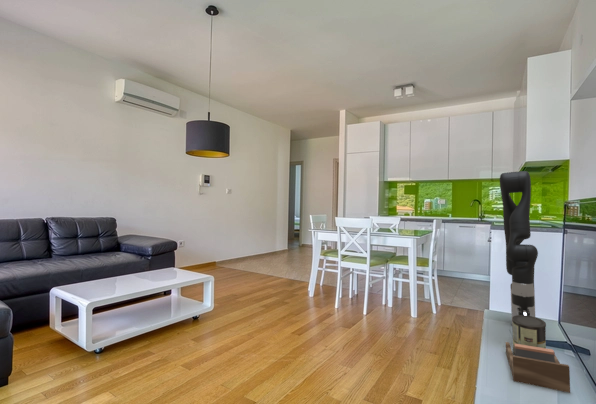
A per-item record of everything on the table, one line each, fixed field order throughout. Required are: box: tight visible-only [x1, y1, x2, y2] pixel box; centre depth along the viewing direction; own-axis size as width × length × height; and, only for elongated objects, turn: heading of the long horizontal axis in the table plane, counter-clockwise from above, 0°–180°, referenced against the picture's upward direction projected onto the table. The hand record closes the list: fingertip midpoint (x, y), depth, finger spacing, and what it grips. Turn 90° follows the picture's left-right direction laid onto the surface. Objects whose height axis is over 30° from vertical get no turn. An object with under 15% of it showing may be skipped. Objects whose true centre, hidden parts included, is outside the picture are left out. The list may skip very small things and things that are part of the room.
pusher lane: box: [505, 341, 571, 393], centre depth 109 cm, size 23×14×8 cm, turn 152°
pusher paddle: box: [514, 343, 556, 363], centre depth 108 cm, size 2×11×8 cm, turn 62°
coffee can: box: [511, 315, 547, 356], centre depth 117 cm, size 10×10×14 cm
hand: (524, 335), depth 126 cm, fingers closed
